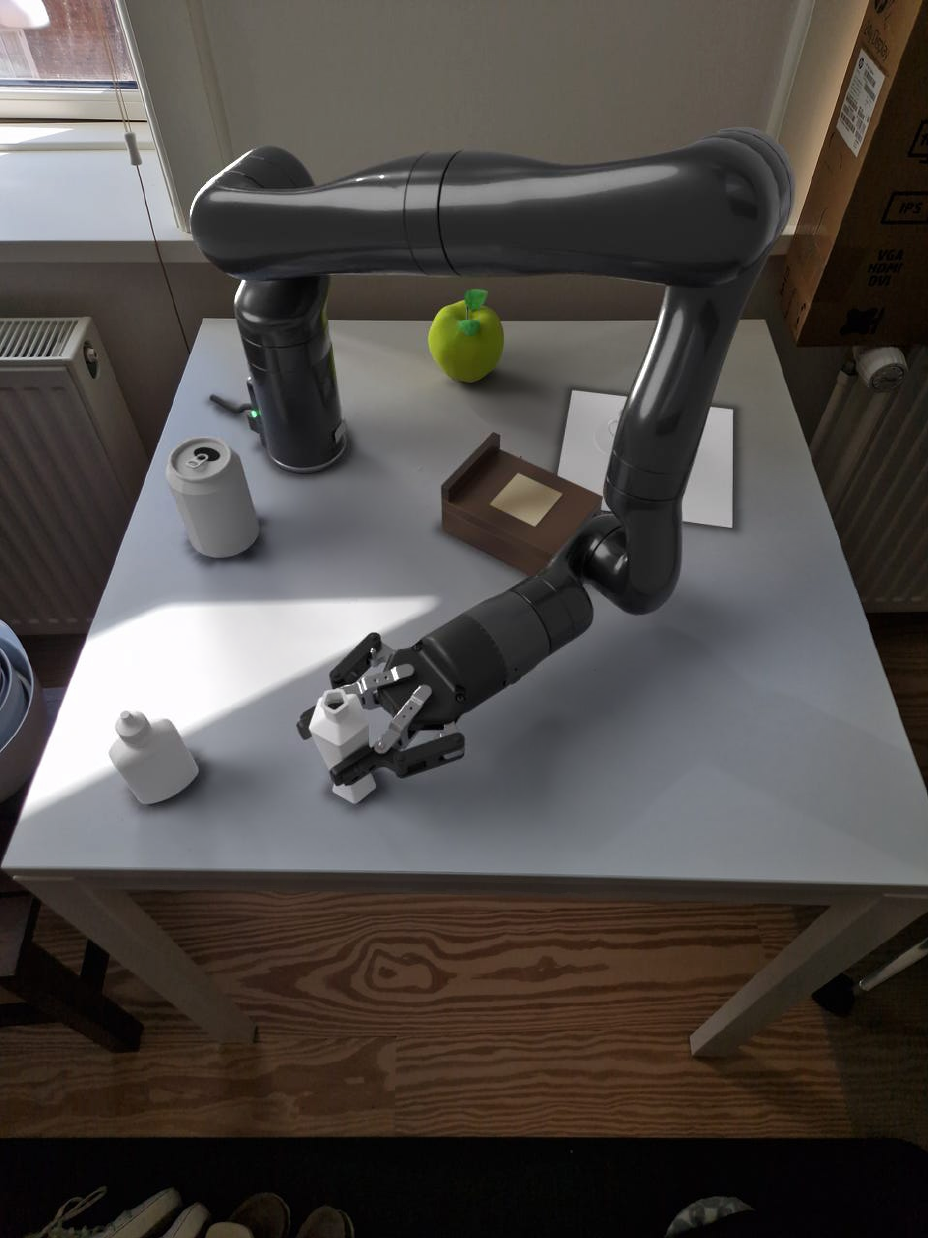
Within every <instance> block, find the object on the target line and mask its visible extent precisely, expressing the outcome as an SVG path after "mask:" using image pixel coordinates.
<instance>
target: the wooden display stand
mask: <svg viewBox="0 0 928 1238" xmlns="http://www.w3.org/2000/svg"><path fill="white" fill-rule="evenodd" d="M501 437H502V436H501V434H499V433H498V432H495V431H492V432H491V433H490V434H489V435H488V436H487V437H486V438H485V439H484V440H483V441H482V442H481V443H480V445H478V447H477V448H476V449H475V450H474V451H473V452H471V454H470V455H469V456H468V457H467V458H466V459H465V460H464V461H463V462H462V463H461V464H460V465H459V466H458V467H457V468H456V469H455V470H454V471H453V472H452V474H450V476H449V477H447V478H446V480H444V481H443V482H442V484H441V485H440V501H441V503H440V504H441V531H442V532H444V533H445V534H448V535H449V536H451V537H454V538H455V539H457V540H459V541H461V542H462V543H465V544H467V545H469V546H471V547H473V548H474V549H476V550H478V551H481V552H483V553H484V554H487V555H488V556H490V557H493V558H494V559H496V560H498V561H500V562H502V563H504V564H506V565H508V566H509V567H512V568H513V569H515V570H518V571H519V572H522V573H524V574H526V575H528V577H530V576H532V575H533V574H535V573H536V572H538V571H539V570H540V569H541V568H542V567H543V566H544V565H545V564H546V563H547V562H548V561H549V560H550V559H551V558H552V556H554V555H555V554H556V553H557V552H558V550H559V549H560V548H561V547H562V546H563V545H564V544H565V543H566V542H567V541H568V540H569V538H570V537H571V536H572V535H573V534H574V533H575V531H576V530H577V529H578V528H579V527H580V526H581V525H582V524H583V523H585V522H586V521H588V520H589V519H591V518H593V517H596V516H599V515H601V511H602V510H601V506H602V500H603V496H601V495H599V494H597V493H594V492H592V491H590V490H588V489H586V488H584V487H581V486H579V485H577V484H575V483H573V482H571V481H568V480H566V479H564V478H562V477H560V476H558V474H555V473H553V472H551V471H549V470H548V469H547V470H546V469H545V468H543V467H540V466H538V465H536V464H534V463H531V462H530V461H527V460H526V459H525V460H524V459H523V458H521V457H519V456H517V455H515V454H512V453H510V452H508V451H506V450H503V449H501Z"/></svg>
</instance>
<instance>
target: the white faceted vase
mask: <svg viewBox="0 0 928 1238" xmlns="http://www.w3.org/2000/svg"><path fill="white" fill-rule="evenodd" d="M316 704H317V705H316ZM316 704H315V705H316V708H315V711H314V714H313V717H312V720H311V723H310V726H309V730H310V732H311V734H312V739H313V741H314V742H315V744H316V746H317V748H318V750H319V752H320V754H321V756H322V760H324V763H325V765H326V767H327V769H328V771H330V769H331V768H332V767H333V766H335V765H337V764H338V763H340V762H341V761H343V760H344V759H346V758H348V757H349V756H351V755H352V754H354V753H355V752H357V751H359V750H360V749H362V748H363V747H365V746H366V745H368V744H369V745H370V725H369V724H370V723H369V722H370V721H369V720H368V717H367V714H366V712H365V709H363V708H362V706H361V703H360V701H359V699H358V696H357V695H356V694H348V695H346V693H345V691H344V690H343V689H334V690H332V689H326V690H325V691H324V692H323V695H322V696H321V697H319V698H318V700H317V703H316ZM376 788H377V783H376V781H375V778H374V776H373V774H372V772H371V773H370V774H368V775H367V776H365V777H364V778H362V779H361V780H359V781H358V782H356V783H354V784H353V785H350V786H345V785H344V784H342V785H340V786H336V785H335V784H334V783H333V786H332V793H334V794H335V795H337V796H339V797H341V798H343V799H345V800H346V801H347V802H350V803H352V804H354V805H356V804H359V802H360V801H361V800H363V799H364V798H366V796H368V795H369V794H370V793H371V792H373V791H374V790H376Z"/></svg>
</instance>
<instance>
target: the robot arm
mask: <svg viewBox="0 0 928 1238" xmlns="http://www.w3.org/2000/svg"><path fill="white" fill-rule="evenodd" d="M794 173H795V171H794V169H793V166H792V163H791V160H790V158H789V156H788V154H787V152H786V150H785V148H784V147H783V146H782V145H781V143H779V142H778V141H777V140H776V138H775V137H773V136H771V135H770V134H768V133H766V132H765V131H764V130H761V129H757V128H754V127H751V126H733V127H727V128H722V129H719V130H716V131H713V132H711V133H709V134H706V135H704V136H702V137H700V138H698V139H695V140H694V141H692V142H690V143H688V144H687V145H684V146H681V147H677V148H674V149H671V150H667V151H662V152H657V153H652V154H648V155H643V156H637V157H629V158H623V159H615V160H607V161H606V160H605V161H599V162H590V163H589V162H588V163H563V162H556V161H550V160H546V159H541V158H537V157H535V156H530V155H525V154H521V153H517V152H512V151H505V150H497V149H481V148H479V149H476V148H475V149H474V148H472V149H468V148H467V149H452V150H449V149H448V150H436V151H424V152H418V153H413V154H406V155H402V156H398V157H394V158H391V159H388V160H384V161H381V162H379V163H376V164H372V165H370V166H367V167H364V168H362V169H359V170H356V171H353V172H351V173H348V174H346V175H343V176H341V177H338V178H335V179H333V180H330V181H327V182H324V183H320V184H317V185H316V182H315V180H314V178H313V177H312V175H311V173H310V171H309V170H308V168H307V167H306V165H304V163H303V162H302V160H300V159H299V158H298V157H297V156H296V155H295V154H293V153H292V152H291V151H288V150H287V149H285V148H283V147H281V146H278V145H273V144H265V145H259V146H256V147H254V148H251V149H250V150H248V151H246V152H245V153H244V154H242V155H241V156H240V157H238V158H237V159H236V160H234V161H233V162H232V163H230V164H229V165H228V166H226V167H225V168H223V169H222V170H221V171H219V173H217V174H216V175H215V176H213V177H212V178H211V179H209V180H208V181H207V182H206V184H204V186H203V187H202V188H201V189H200V191H198V193H197V194H196V196H195V197H194V200H193V202H192V205H191V209H190V211H189V212H190V213H189V228H190V234H191V237H192V240H193V242H194V244H195V246H196V247H197V249H198V250H199V252H200V253H201V254H202V256H203V257H204V258H205V259H206V260H207V261H208V262H209V263H210V264H211V265H212V266H214V267H215V268H216V269H218V270H219V271H220V272H222V273H224V274H226V275H228V276H230V277H232V278H235V279H238V280H241V282H240V285H239V286H238V289H237V291H236V292H235V293H236V294H235V296H234V301H233V312H234V317H235V322H236V326H237V328H238V333H239V337H240V341H241V345H242V350H243V354H244V356H245V361H246V365H247V369H248V373H249V377H248V378H247V380H246V387H247V391H248V396H249V400H250V403H248V402H247V403H246V402H245V403H242V404H240V405H238V406H237V405H234V404H232V403H230V402H228V401H226V400H224V399H223V398H221V397H220V396H218V395H216V394H213V393H211V394H210V396H209V401H211V402H213V403H215V404H216V405H218V406H220V407H221V408H223V409H225V410H227V411H229V412H232V413H235V414H242V413H244V412H245V411H250V412H248V413H247V414H246V418H247V422H248V425H249V430H250V431H251V432H254V433H256V434H258V435H259V438H260V442H261V446H262V447H264V448H265V449H266V450H267V453H268V456H269V458H270V460H271V461H272V462H273V463H274V464H275V465H276V466H277V467H279V468H280V469H282V470H285V471H288V472H290V473H295V474H296V473H297V474H309V473H316V472H319V471H323V470H325V469H328V468H330V467H332V466H333V465H334V464H336V463H337V462H338V461H339V460H341V458H342V457H343V456H344V454H345V453H346V450H347V447H348V439H347V434H346V429H347V423H346V422H347V421H346V418H345V417H343V411H342V403H341V395H340V391H339V383H338V377H337V369H336V362H335V357H334V349H333V344H332V337H331V329H330V323H329V317H328V316H329V315H328V309H327V305H328V300H329V296H330V293H331V286H332V285H331V284H332V283H331V282H332V281H331V278H332V277H331V275H332V276H333V275H349V276H350V275H352V276H354V275H355V276H356V275H357V276H413V277H415V276H416V277H427V278H428V277H429V278H456V279H457V278H460V279H462V278H463V279H466V278H467V279H473V278H474V279H478V278H517V277H518V278H520V277H521V278H522V277H523V278H524V277H539V276H553V275H581V276H582V275H583V276H592V277H602V278H607V279H608V278H610V279H617V280H623V281H630V282H631V281H632V282H637V283H645V284H651V285H659V286H665V288H664V291H663V297H662V301H661V304H660V308H659V312H658V315H657V319H656V322H655V325H654V328H653V331H652V334H651V337H650V340H649V342H648V345H647V348H646V351H645V353H644V356H643V358H642V361H641V362H640V366H639V367H638V371H637V374H635V377H634V380H633V382H632V384H631V387H630V389H629V391H628V394H627V396H626V397H627V399H626V402H625V404H624V407H623V410H622V413H621V416H620V419H619V422H618V426H617V430H616V433H615V437H614V441H613V446H612V450H611V454H610V459H609V463H608V467H607V472H606V476H605V480H604V487H603V497H604V500H605V503H606V505H607V506H608V508H609V509H610V510H611V511H610V512H611V513H605V514H600V515H599V516H596V517H593V518H591V519H589V520H588V521H586V522H585V523H583V524H582V525H581V526H580V527H579V528H578V529H577V530H576V531H575V533H574V534H573V535H572V536H571V537H570V538H569V540H568V541H567V542H566V543H565V544H564V545H563V546H562V547H561V548H560V549H559V550H558V552H557V553H556V554H555V555H554V556H552V558H551V559H550V560H549V561H548V562H547V563H546V564H545V565H544V566H543V567H542V568H541V569H540V570H539V571H538V572H536V573H535V574H533V575H532V576H528V577H526V578H524V579H523V580H521V581H520V582H518V583H516V584H515V585H513V586H511V587H510V588H507V589H506V590H504V591H503V592H501V593H499V594H496V595H494V596H491V597H489V598H487V599H484V600H483V601H480V602H479V603H478V604H476V605H474V606H473V607H470V608H469V609H467V610H465V611H464V612H463V613H461V614H459V615H456V617H454V618H452V619H451V620H449V621H447V622H446V623H444V624H442V625H440V626H439V627H438V628H435V629H434V630H432V631H431V632H429V633H427V634H425V635H424V636H423V637H421V638H420V639H419V640H418V641H417V642H416V643H415V644H413V645H412V646H409V647H405V648H398V649H396V650H395V649H393V648H392V647H391V646H388V645H387V644H386V643H384V642H382V638H381V635H380V633H378V632H376V631H372V632H369V633H368V634H367V635H366V636H365V637H364V638H363V639H362V640H361V641H360V642H359V643H358V644H357V645H356V646H355V647H354V648H353V649H351V651H350V652H349V653H348V654H347V655H346V656H344V657H343V659H342V660H341V661H339V663H338V664H336V665H335V666H334V668H333V669H331V671H329V674H328V676H329V681H330V686H331V690H334V689H343V690H344V691H345V693H346V695H348V694H356V695H357V696H358V699H359V701H360V703H361V706H362V708H363V710H368V711H372V710H376V709H380V708H382V709H383V710H384V711H385V712H386V713H388V714H389V715H391V718H392V720H391V721H390V722H389V725H388V727H387V729H386V730H385V731H384V732H383V733H382V735H381V736H379V738H378V739H377V740H376V741H375V743H374V745H373V746H371V745H370V743H369V744H368V745H366V746H365V747H363V748H362V749H360V750H359V751H357V752H355V753H354V754H352V755H351V756H349V757H348V758H346V759H344V760H343V761H341V762H340V763H338V764H337V765H335V766H333V767H332V768H331V769H330V771H329V770H328V771H329V772H328V773H329V776H330V779H331V781H332V782H333V785H334V784H335V785H336V786H340V785H342V784H344V785H345V786H350V785H353V784H354V783H356V782H358V781H359V780H361V779H362V778H364V777H365V776H367V775H368V774H370V773H371V774H372V773H373V772H374V771H376V770H378V769H380V768H386V769H388V770H390V771H391V772H393V773H394V774H395V776H396V778H398V779H401V780H405V779H407V778H411V777H413V776H416V775H419V774H422V773H425V772H427V771H431V770H433V769H436V768H439V767H441V766H445V765H448V764H450V763H453V762H456V761H459V760H462V759H464V757H465V755H466V738H465V735H464V734H463V733H462V732H460V731H459V729H458V727H457V723H458V721H459V719H460V718H461V717H462V716H463V715H464V714H466V713H469V712H471V711H473V710H474V709H476V708H478V706H480V705H482V704H483V703H485V702H486V701H488V700H489V699H491V698H492V697H494V696H496V695H497V694H499V693H500V692H502V691H503V690H505V689H506V688H508V687H509V686H511V685H514V684H516V683H518V682H519V681H520V680H522V678H523V677H525V676H526V675H528V674H529V673H531V672H532V671H533V670H534V669H535V668H536V667H537V666H539V664H541V663H542V662H543V661H544V660H546V659H547V658H548V657H549V656H551V655H553V654H554V653H556V652H558V651H559V650H561V649H562V648H564V647H565V646H566V645H567V646H568V644H570V643H571V642H574V641H575V640H576V639H578V638H579V637H581V636H582V635H584V634H585V633H586V632H587V631H588V630H589V629H590V627H591V626H592V624H593V620H594V616H595V612H594V611H595V610H594V606H593V602H592V599H591V596H590V595H589V593H588V591H587V590H586V588H585V585H587V584H588V585H590V586H591V587H592V588H593V589H594V590H595V591H597V592H598V593H599V594H601V595H602V596H603V597H604V598H606V599H607V600H608V601H609V602H611V604H612V605H614V606H615V607H617V609H619V610H621V612H624V613H626V614H628V615H632V616H638V617H639V616H641V617H642V616H647V615H650V614H653V613H655V612H656V611H657V610H659V609H660V608H661V607H663V606H664V605H665V604H666V603H667V602H668V601H669V599H670V598H671V597H672V595H673V593H674V592H675V590H676V587H677V585H678V583H679V579H680V576H681V571H682V567H683V564H682V563H683V522H684V521H683V518H682V501H683V497H684V494H685V491H686V488H687V485H688V481H689V478H690V475H691V472H692V468H693V465H694V462H695V458H696V455H697V452H698V448H699V445H700V441H701V438H702V434H703V431H704V427H705V424H706V420H707V417H708V413H709V410H710V407H712V403H713V399H714V396H715V393H716V389H717V386H718V382H719V379H720V376H721V373H722V370H723V367H724V363H725V360H726V357H727V355H728V352H729V350H730V346H731V344H732V341H733V338H734V335H735V332H736V330H737V328H738V325H739V322H740V319H741V317H742V315H743V312H744V310H745V307H746V305H747V304H748V300H749V299H750V296H751V294H752V291H753V289H754V287H755V286H756V283H757V282H758V279H759V277H760V275H761V273H762V271H763V269H764V267H765V265H766V263H767V261H768V259H769V257H770V255H771V253H772V251H773V249H774V247H775V245H776V243H777V242H778V240H780V237H782V234H783V233H784V231H785V229H786V227H787V226H788V223H789V220H790V218H791V216H792V212H793V208H794V204H795V197H796V181H795V174H794ZM385 663H386V664H385ZM381 664H385V666H384V668H383V669H382V672H378V673H373V674H370V675H366V676H364V675H365V674H366V673H367V672H368V670H370V669H371V668H372V667H373V668H377V667H379V666H380V665H381ZM375 691H376V692H375ZM316 705H317V703H316V704H314V705H313V706H311V707H310V708H308V709H306V710H304V711H303V712H302V713H301V714H300V716H299V720H298V721H297V722H296V729H297V732H298V734H299V736H300V737H301V739H302V740H303V741H306V740H309V739H311V738H313V736H312V734H311V732H310V730H309V726H310V723H311V720H312V717H313V714H314V711H315V708H316ZM422 731H423V732H426V731H427V732H431V731H432V732H433V731H434V732H435V731H441V732H439V733H437V734H436V736H435V739H432V740H429V741H427V742H424V743H421V744H418V745H415V746H412V747H408V746H409V745H410V743H412V741H413V740H414V739H415V738H416V736H418V734H419V733H420V732H422ZM407 747H408V748H407Z"/></svg>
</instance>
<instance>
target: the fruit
mask: <svg viewBox="0 0 928 1238" xmlns="http://www.w3.org/2000/svg"><path fill="white" fill-rule="evenodd" d="M488 295H489V292H488V291H487V290H484V289H481V288H471V289H468V290H467V291H466V292H465V294H464V299H463V300H460V301H457V302H455V303H453V304H449V305H448V304H447V305H446V306H444V307H442V308H441V309H440V310H439V311H438V313H437V314H436V315H435V316H434V319H433V322H432V324H431V326H430V328H429V331H428V337H427V338H428V339H427V341H428V348H429V351H430V354H431V356H432V358H433V360H434V362H436V364H437V366H438V367H439V368H440V369H441V370H442V372H443V373H444V374H445V375H446V376H447V377H449V378H450V379H452V380H453V381H456V382H457V381H458V382H464V383H470V384H471V383H475V382H479V381H480V380H481V379H483V378H484V377H486V376H487V375H489V373H491V372H492V371H493V370H495V368H496V367H497V366H498V364H499V362H500V360H501V358H502V354H503V351H504V345H505V331H504V327H503V323H502V321H501V319H500V318H499V316H498V314H497V313H496V312H495V311H494V310H493V309H492V308H491V307H488V306H485V305H484V303H486V300H487V297H488Z"/></svg>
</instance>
